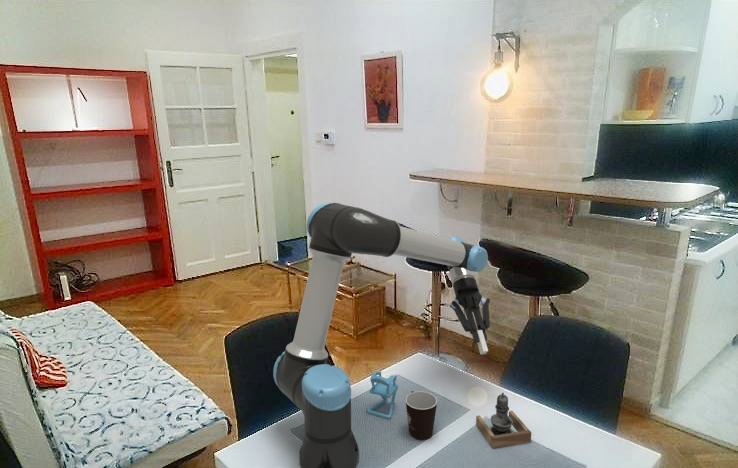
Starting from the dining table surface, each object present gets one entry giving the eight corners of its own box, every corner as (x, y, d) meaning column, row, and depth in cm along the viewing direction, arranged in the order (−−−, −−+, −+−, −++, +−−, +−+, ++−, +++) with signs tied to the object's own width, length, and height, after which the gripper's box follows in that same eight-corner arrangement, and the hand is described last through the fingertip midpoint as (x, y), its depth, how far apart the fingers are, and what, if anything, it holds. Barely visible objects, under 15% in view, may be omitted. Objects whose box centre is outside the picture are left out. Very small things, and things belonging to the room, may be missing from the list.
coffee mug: (435, 444, 119) (436, 411, 117) (403, 440, 121) (403, 407, 119) (438, 418, 131) (438, 387, 128) (408, 415, 132) (408, 384, 130)
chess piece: (488, 424, 127) (490, 385, 125) (510, 425, 127) (512, 387, 124) (491, 437, 122) (493, 397, 119) (513, 439, 121) (516, 399, 118)
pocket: (475, 425, 127) (476, 415, 126) (511, 419, 129) (512, 410, 129) (492, 448, 118) (492, 438, 117) (530, 442, 120) (531, 432, 119)
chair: (401, 405, 137) (401, 369, 135) (389, 420, 130) (389, 382, 128) (378, 399, 141) (378, 363, 138) (366, 413, 134) (365, 376, 131)
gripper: (478, 285, 150) (499, 354, 137) (441, 288, 147) (459, 359, 135) (486, 274, 144) (509, 346, 131) (448, 277, 141) (467, 350, 128)
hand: (484, 352), depth 133 cm, fingers closed
